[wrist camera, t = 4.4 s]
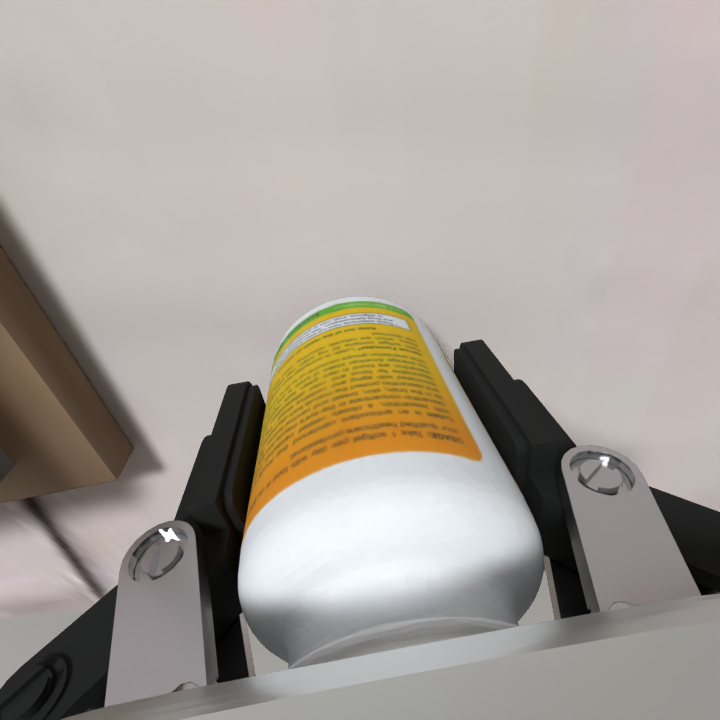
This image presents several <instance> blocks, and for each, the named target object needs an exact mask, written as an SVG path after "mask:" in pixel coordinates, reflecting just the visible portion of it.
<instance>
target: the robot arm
mask: <svg viewBox="0 0 720 720" xmlns="http://www.w3.org/2000/svg"><path fill="white" fill-rule="evenodd" d="M454 373H455V375H456V377H457V378H458V380H459V382H460V384H461V386H462V388H463V389H464V391H465V393H466V395H467V397H468V398H469V400H470V402H471V404H472V406H473V407H474V409H475V411H476V413H477V415H478V416H479V418H480V420H481V422H482V424H483V425H484V427H485V429H486V430H487V432H488V434H489V436H490V438H491V439H492V441H493V443H494V445H495V447H496V448H497V450H498V452H499V454H500V455H501V457H502V459H503V461H504V462H505V464H506V466H507V468H508V470H509V471H510V473H511V475H512V477H513V478H514V480H515V482H516V484H517V485H518V487H519V489H520V491H521V493H522V494H523V496H524V499H525V501H526V503H527V505H528V507H529V509H530V511H531V513H532V515H533V517H534V520H535V522H536V525H537V527H538V530H539V532H540V536H541V540H542V545H543V553H544V563H545V568H546V574H547V579H548V585H549V590H550V596H551V601H552V607H553V613H554V618H555V620H553V621H547V622H542V623H537V624H531V625H525V626H520V627H514V628H509V629H503V630H498V631H492V632H487V633H481V634H476V635H470V636H465V637H460V638H454V639H449V640H443V641H438V642H433V643H427V644H422V645H417V646H411V647H406V648H401V649H395V650H390V651H385V652H379V653H374V654H369V655H363V656H358V657H353V658H347V659H342V660H337V661H331V662H326V663H321V664H316V665H310V666H305V667H300V668H295V669H290V670H284V671H279V672H275V673H269V674H264V675H259V676H256V675H255V669H254V664H253V657H252V651H251V645H250V639H249V633H248V628H247V622H246V619H245V617H244V614H243V611H242V608H241V604H240V600H239V594H238V571H239V562H240V553H241V546H242V540H243V534H244V529H245V523H246V517H247V511H248V506H249V500H250V494H251V489H252V483H253V477H254V472H255V466H256V461H257V455H258V450H259V444H260V438H261V432H262V425H263V420H264V414H265V408H266V405H265V402H264V399H263V397H262V394H261V391H260V389H259V387H258V385H254V386H252V384H251V383H250V382H249V381H248V382H242V383H237V384H231V385H228V387H227V389H226V392H225V395H224V398H223V401H222V404H221V407H220V410H219V413H218V416H217V419H216V422H215V425H214V428H213V431H212V434H211V435H209V436H206V437H205V438H204V439H203V441H202V444H201V446H200V449H199V452H198V455H197V458H196V460H195V463H194V466H193V469H192V472H191V474H190V477H189V480H188V483H187V486H186V489H185V491H184V494H183V497H182V500H181V503H180V505H179V508H178V511H177V514H176V517H175V519H174V521H168V522H165V523H162V524H159V525H157V526H155V527H153V528H152V529H150V530H148V531H147V532H146V533H144V534H143V535H142V536H141V537H139V538H138V539H137V540H136V541H135V543H134V544H133V545H132V546H131V547H130V548H129V550H128V552H127V553H126V555H125V557H124V558H123V561H122V564H121V568H120V572H119V581H118V585H117V586H116V587H114V588H113V589H112V590H111V591H110V592H109V593H107V594H106V595H105V596H104V597H103V598H101V599H100V600H99V601H98V602H97V603H96V604H94V605H93V606H92V607H91V608H90V609H88V610H87V611H86V612H85V613H84V614H83V615H81V616H80V617H79V618H78V619H77V620H76V621H74V622H73V623H72V624H71V625H70V626H68V627H67V628H66V629H65V630H64V631H63V632H61V633H60V634H59V635H58V636H57V637H56V638H54V639H53V640H52V641H51V642H50V643H48V644H47V645H46V646H45V647H44V648H43V649H41V650H40V651H39V652H38V653H37V654H35V655H34V656H33V657H32V658H31V659H30V660H28V661H27V662H26V663H25V664H24V665H23V666H21V667H20V668H19V669H18V670H17V671H16V672H15V673H14V674H13V675H12V676H11V677H10V678H9V679H8V680H7V681H6V683H5V684H4V685H3V687H2V688H1V689H0V720H720V512H718V511H715V510H712V509H710V508H707V507H704V506H701V505H699V504H696V503H693V502H691V501H688V500H685V499H682V498H680V497H677V496H674V495H671V494H669V493H666V492H663V491H660V490H658V489H655V488H652V487H650V486H648V484H647V482H646V480H645V478H644V476H643V474H642V473H641V471H640V470H639V468H638V467H637V466H636V465H635V464H634V463H633V462H632V461H631V460H629V459H628V458H627V457H625V456H623V455H622V454H620V453H618V452H616V451H613V450H611V449H608V448H605V447H600V446H593V445H587V446H578V447H577V446H576V445H575V444H574V442H573V441H572V440H571V439H570V438H569V436H568V435H567V434H566V433H565V431H564V430H563V429H562V428H561V426H560V425H559V424H558V423H557V422H556V420H555V419H554V418H553V417H552V415H551V414H550V413H549V412H548V411H547V409H546V408H545V407H544V406H543V404H542V403H541V402H540V401H539V400H538V398H537V397H536V396H535V395H534V393H533V392H532V391H531V390H530V389H529V387H528V386H527V385H526V384H525V383H524V382H523V381H522V380H519V379H518V380H513V378H512V377H511V376H510V375H509V373H508V372H507V371H506V369H505V368H504V367H503V366H502V364H501V363H500V362H499V360H498V359H497V358H496V357H495V355H494V354H493V353H492V352H491V350H490V349H489V348H488V346H487V345H486V344H485V343H484V341H483V340H475V341H470V342H464V343H461V345H460V349H455V350H454Z"/></svg>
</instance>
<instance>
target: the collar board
mask: <svg viewBox="0 0 720 720" xmlns="http://www.w3.org/2000/svg"><path fill="white" fill-rule="evenodd" d="M132 451H133V447H132V446H131V444H130V443H129V441H128V440H127V438H126V437H125V435H124V433H123V432H122V430H121V429H120V427H119V426H118V424H117V423H116V421H115V420H114V418H113V417H112V415H111V414H110V412H109V411H108V409H107V408H106V406H105V405H104V403H103V402H102V400H101V399H100V397H99V396H98V394H97V392H96V391H95V389H94V388H93V386H92V385H91V383H90V382H89V380H88V379H87V377H86V376H85V374H84V373H83V371H82V370H81V368H80V367H79V365H78V364H77V362H76V361H75V359H74V358H73V356H72V354H71V353H70V351H69V350H68V348H67V347H66V345H65V344H64V342H63V341H62V339H61V338H60V336H59V335H58V333H57V332H56V330H55V329H54V327H53V326H52V324H51V323H50V321H49V320H48V318H47V317H46V315H45V313H44V312H43V310H42V309H41V307H40V306H39V304H38V303H37V301H36V300H35V298H34V297H33V295H32V294H31V292H30V291H29V289H28V288H27V286H26V285H25V283H24V282H23V280H22V279H21V277H20V275H19V274H18V272H17V271H16V269H15V268H14V266H13V265H12V263H11V262H10V260H9V259H8V257H7V256H6V254H5V253H4V251H3V250H2V248H1V247H0V503H5V502H10V501H15V500H20V499H25V498H30V497H35V496H40V495H45V494H50V493H55V492H60V491H65V490H70V489H75V488H80V487H85V486H89V485H94V484H99V483H104V482H109V481H114V480H117V479H118V477H119V475H120V473H121V471H122V469H123V467H124V466H125V464H126V462H127V460H128V458H129V456H130V454H131V453H132Z"/></svg>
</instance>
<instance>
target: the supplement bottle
mask: <svg viewBox="0 0 720 720" xmlns="http://www.w3.org/2000/svg"><path fill="white" fill-rule="evenodd" d="M543 570H544V553H543V545H542V540H541V536H540V532H539V530H538V527H537V525H536V522H535V520H534V517H533V515H532V513H531V511H530V509H529V507H528V505H527V503H526V501H525V499H524V496H523V494H522V493H521V491H520V489H519V487H518V485H517V484H516V482H515V480H514V478H513V477H512V475H511V473H510V471H509V470H508V468H507V466H506V464H505V462H504V461H503V459H502V457H501V455H500V454H499V452H498V450H497V448H496V447H495V445H494V443H493V441H492V439H491V438H490V436H489V434H488V432H487V430H486V429H485V427H484V425H483V424H482V422H481V420H480V418H479V416H478V415H477V413H476V411H475V409H474V407H473V406H472V404H471V402H470V400H469V398H468V397H467V395H466V393H465V391H464V389H463V388H462V386H461V384H460V382H459V380H458V378H457V377H456V375H455V373H454V371H453V369H452V368H451V366H450V364H449V362H448V360H447V359H446V357H445V355H444V353H443V352H442V350H441V348H440V346H439V344H438V343H437V341H436V339H435V338H434V337H433V335H432V334H431V332H430V330H429V329H428V328H427V326H426V325H425V324H424V323H423V322H422V321H421V320H420V319H419V318H418V317H417V316H416V315H415V314H413V313H412V312H411V311H409V310H408V309H406V308H404V307H402V306H400V305H398V304H396V303H393V302H391V301H387V300H383V299H379V298H374V297H346V298H341V299H336V300H333V301H329V302H327V303H324V304H322V305H320V306H318V307H316V308H314V309H312V310H311V311H309V312H308V313H306V314H305V315H303V316H302V317H301V318H300V319H298V320H297V321H296V322H295V323H294V324H293V325H292V326H291V328H290V329H289V330H288V331H287V333H286V334H285V336H284V337H283V339H282V340H281V342H280V345H279V347H278V349H277V352H276V355H275V359H274V363H273V366H272V372H271V379H270V384H269V391H268V396H267V402H266V408H265V414H264V420H263V425H262V432H261V438H260V444H259V450H258V455H257V461H256V466H255V472H254V477H253V483H252V489H251V494H250V500H249V506H248V511H247V517H246V523H245V529H244V534H243V540H242V546H241V553H240V562H239V571H238V594H239V600H240V604H241V608H242V611H243V614H244V617H245V619H246V621H247V623H248V625H249V627H250V629H251V631H252V632H253V634H254V635H255V636H256V637H257V639H258V640H259V641H260V643H262V644H263V645H264V646H265V647H266V648H267V649H268V650H269V651H271V652H272V653H273V654H275V655H276V656H278V657H279V658H281V659H282V660H284V661H286V662H288V663H289V668H288V669H287V670H290V669H295V668H300V667H305V666H310V665H316V664H321V663H326V662H331V661H337V660H342V659H347V658H353V657H358V656H363V655H369V654H374V653H379V652H385V651H390V650H395V649H401V648H406V647H411V646H417V645H422V644H427V643H433V642H438V641H443V640H449V639H454V638H460V637H465V636H470V635H476V634H481V633H487V632H492V631H498V630H503V629H509V628H514V627H520V626H519V625H518V623H517V622H518V621H519V620H520V619H521V617H522V616H523V615H524V614H525V613H526V611H527V610H528V609H529V607H530V606H531V604H532V602H533V601H534V599H535V597H536V595H537V592H538V590H539V587H540V584H541V580H542V576H543Z"/></svg>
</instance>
